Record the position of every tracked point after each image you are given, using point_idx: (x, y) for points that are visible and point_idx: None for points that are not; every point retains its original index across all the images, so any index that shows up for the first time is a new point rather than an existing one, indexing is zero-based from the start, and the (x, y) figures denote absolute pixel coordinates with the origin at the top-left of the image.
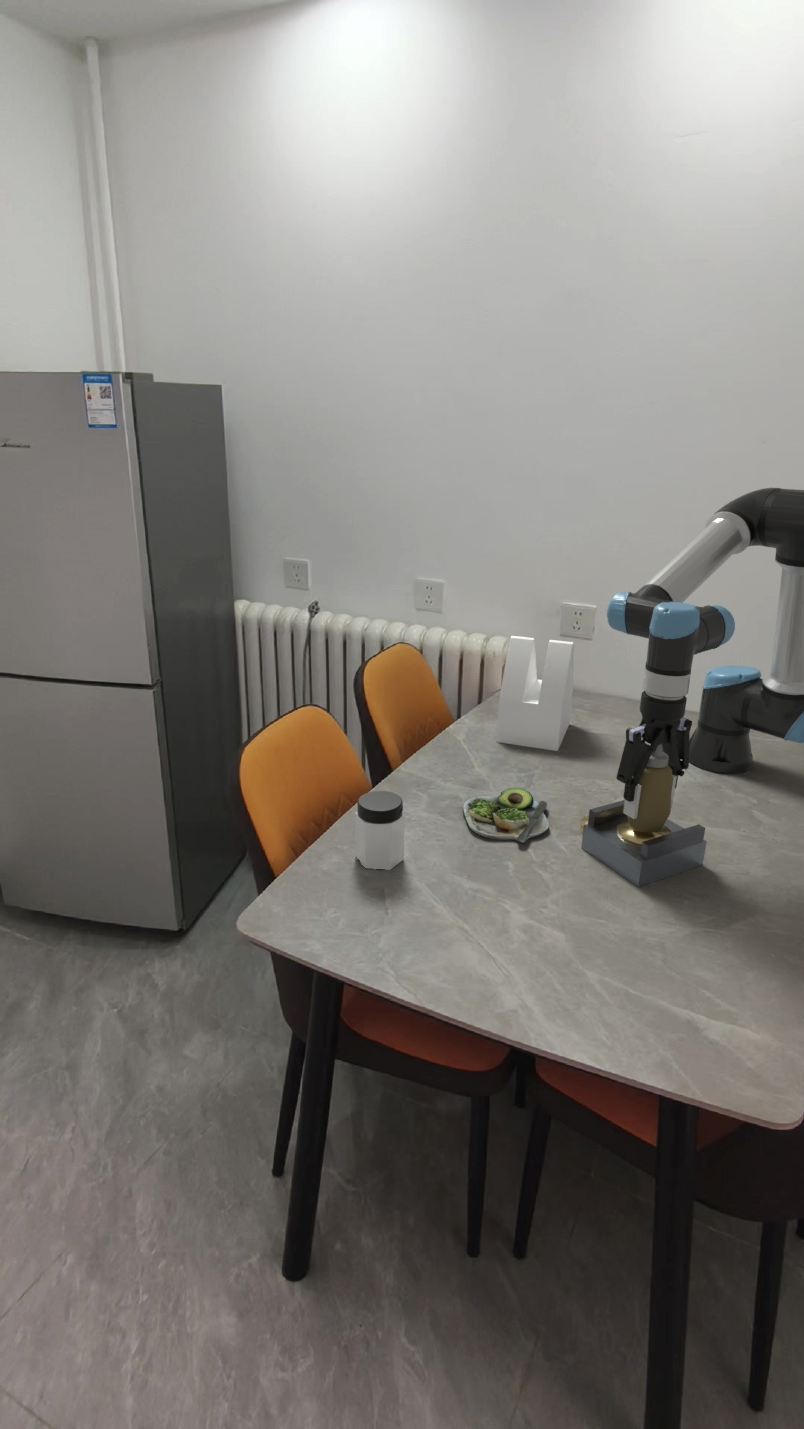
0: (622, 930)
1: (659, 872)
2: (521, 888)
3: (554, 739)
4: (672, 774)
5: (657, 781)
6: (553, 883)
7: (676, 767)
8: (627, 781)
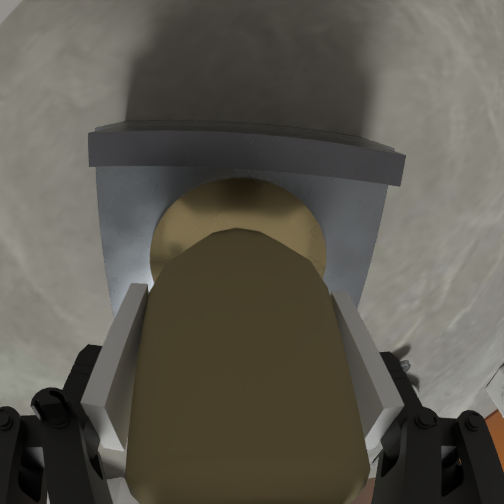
0: (486, 75)
1: (298, 129)
2: (495, 263)
3: (123, 492)
4: (93, 420)
5: (330, 414)
6: (462, 248)
7: (74, 455)
8: (479, 425)
